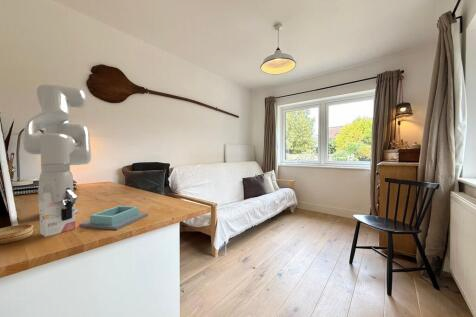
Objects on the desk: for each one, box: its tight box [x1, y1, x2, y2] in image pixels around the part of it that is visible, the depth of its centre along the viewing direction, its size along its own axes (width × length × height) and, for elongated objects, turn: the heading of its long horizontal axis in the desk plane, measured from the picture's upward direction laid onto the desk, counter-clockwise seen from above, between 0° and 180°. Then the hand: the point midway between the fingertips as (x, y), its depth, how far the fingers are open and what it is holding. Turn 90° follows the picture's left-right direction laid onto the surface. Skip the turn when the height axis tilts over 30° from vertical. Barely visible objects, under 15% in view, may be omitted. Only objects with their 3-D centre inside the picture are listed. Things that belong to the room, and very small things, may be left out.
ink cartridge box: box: [38, 192, 76, 237], centre depth 72 cm, size 9×5×15 cm, turn 148°
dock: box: [78, 205, 149, 231], centre depth 83 cm, size 17×17×4 cm
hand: (57, 218), depth 72 cm, fingers open, 7 cm apart
